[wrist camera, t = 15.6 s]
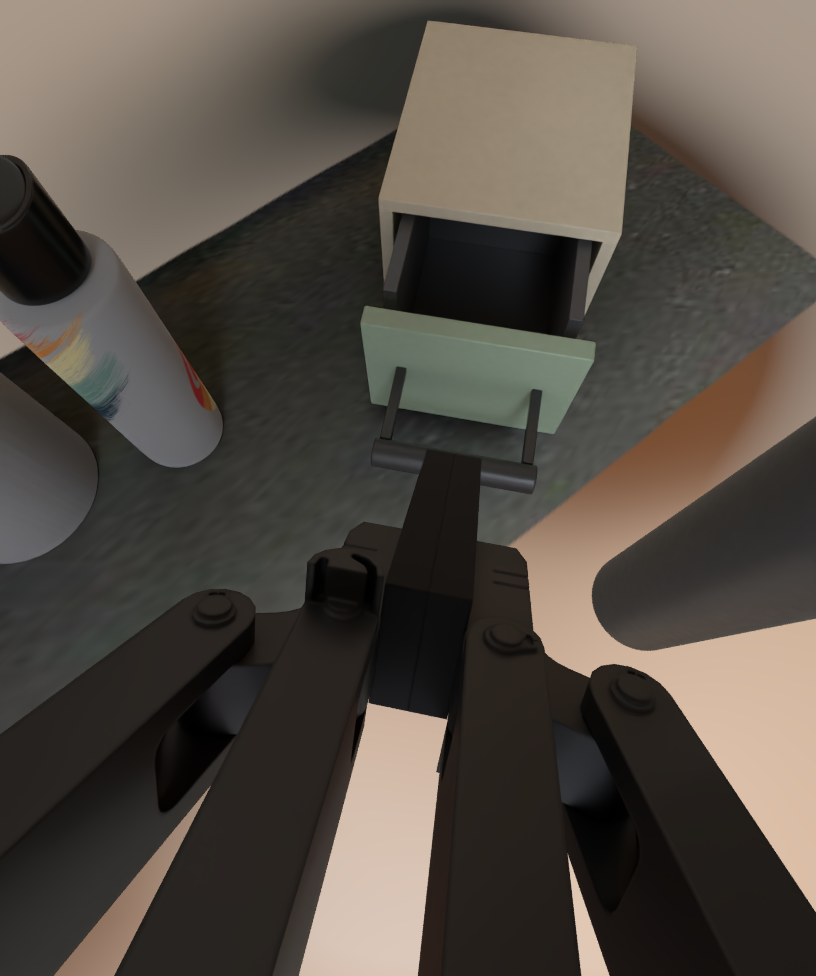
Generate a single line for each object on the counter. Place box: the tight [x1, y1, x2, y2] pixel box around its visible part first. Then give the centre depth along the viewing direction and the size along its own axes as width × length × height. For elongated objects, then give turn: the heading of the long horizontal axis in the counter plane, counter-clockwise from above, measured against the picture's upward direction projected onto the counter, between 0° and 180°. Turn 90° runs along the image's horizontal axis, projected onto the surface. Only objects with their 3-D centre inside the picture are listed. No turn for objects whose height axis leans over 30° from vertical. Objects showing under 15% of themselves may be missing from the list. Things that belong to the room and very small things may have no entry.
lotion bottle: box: [0, 155, 223, 467], centre depth 29 cm, size 6×6×20 cm
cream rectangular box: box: [378, 21, 637, 316], centre depth 39 cm, size 16×14×11 cm
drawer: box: [360, 213, 596, 494], centre depth 35 cm, size 21×12×9 cm, turn 169°
